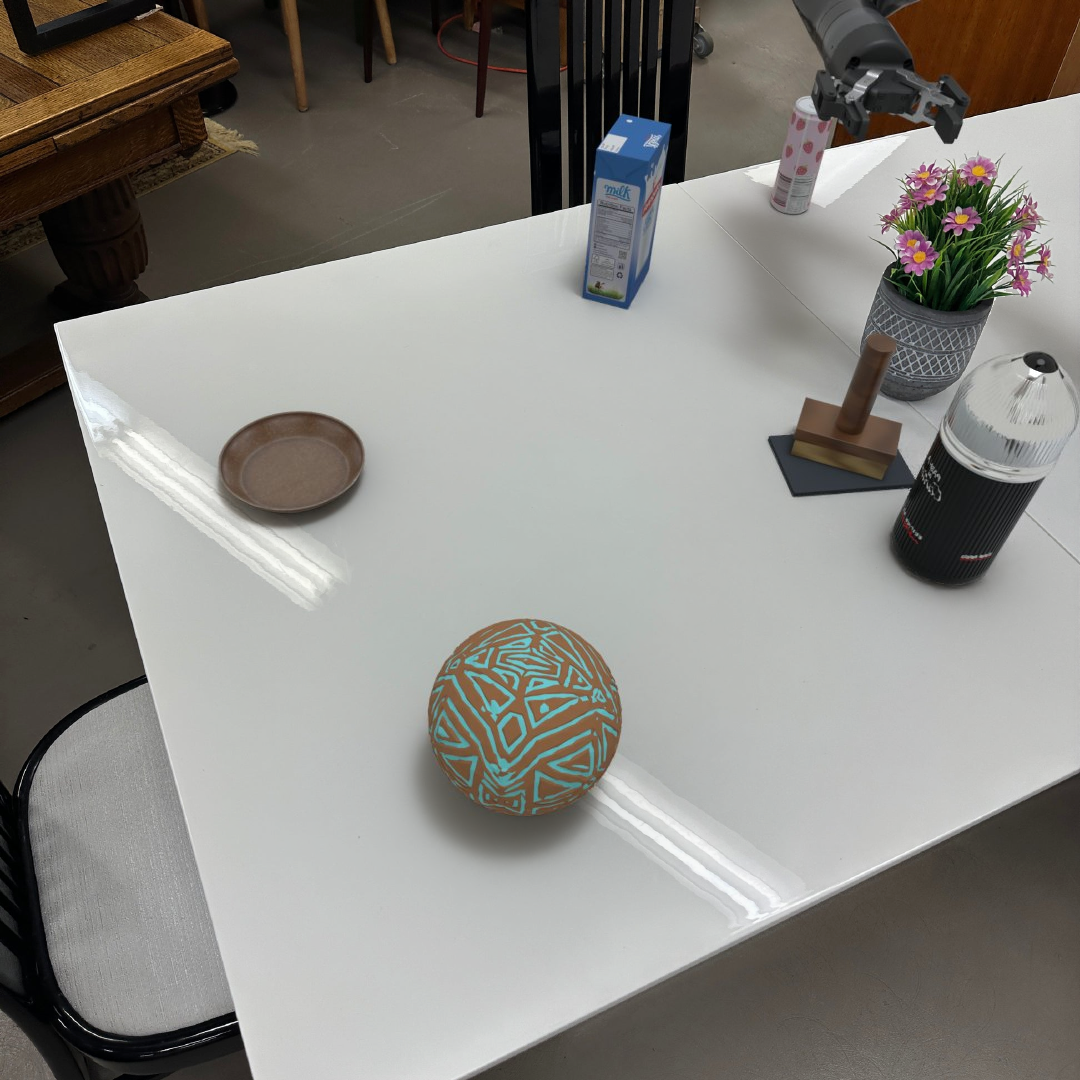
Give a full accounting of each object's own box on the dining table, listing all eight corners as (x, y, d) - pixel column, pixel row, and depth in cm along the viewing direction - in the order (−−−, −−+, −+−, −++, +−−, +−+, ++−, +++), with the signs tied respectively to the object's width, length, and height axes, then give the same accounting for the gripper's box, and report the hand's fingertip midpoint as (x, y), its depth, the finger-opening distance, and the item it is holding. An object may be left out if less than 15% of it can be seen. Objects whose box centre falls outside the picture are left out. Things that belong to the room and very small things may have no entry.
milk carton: (627, 309, 124) (648, 161, 109) (582, 298, 125) (596, 149, 110) (649, 269, 130) (671, 123, 115) (605, 259, 131) (622, 113, 116)
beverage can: (809, 198, 145) (837, 98, 133) (807, 217, 141) (836, 116, 130) (771, 192, 145) (795, 92, 134) (768, 211, 142) (793, 110, 130)
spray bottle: (910, 596, 94) (1017, 399, 76) (870, 519, 101) (959, 321, 82) (1006, 586, 96) (1135, 391, 77) (961, 511, 102) (1069, 315, 84)
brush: (890, 450, 107) (938, 340, 96) (884, 482, 104) (933, 372, 93) (797, 424, 110) (833, 313, 98) (787, 455, 106) (823, 344, 95)
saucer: (354, 419, 107) (352, 400, 105) (378, 513, 98) (376, 494, 96) (217, 440, 104) (212, 421, 102) (229, 540, 95) (224, 521, 93)
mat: (884, 431, 110) (886, 427, 110) (916, 487, 104) (917, 483, 104) (767, 439, 108) (768, 435, 108) (793, 497, 103) (794, 493, 102)
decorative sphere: (407, 824, 76) (395, 726, 65) (460, 670, 86) (457, 562, 75) (592, 869, 75) (613, 776, 63) (625, 707, 84) (647, 602, 73)
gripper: (807, 19, 97) (845, 89, 87) (944, 24, 98) (999, 95, 87) (789, 93, 103) (823, 168, 92) (919, 98, 104) (967, 173, 93)
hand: (908, 133), depth 90 cm, fingers open, 8 cm apart
